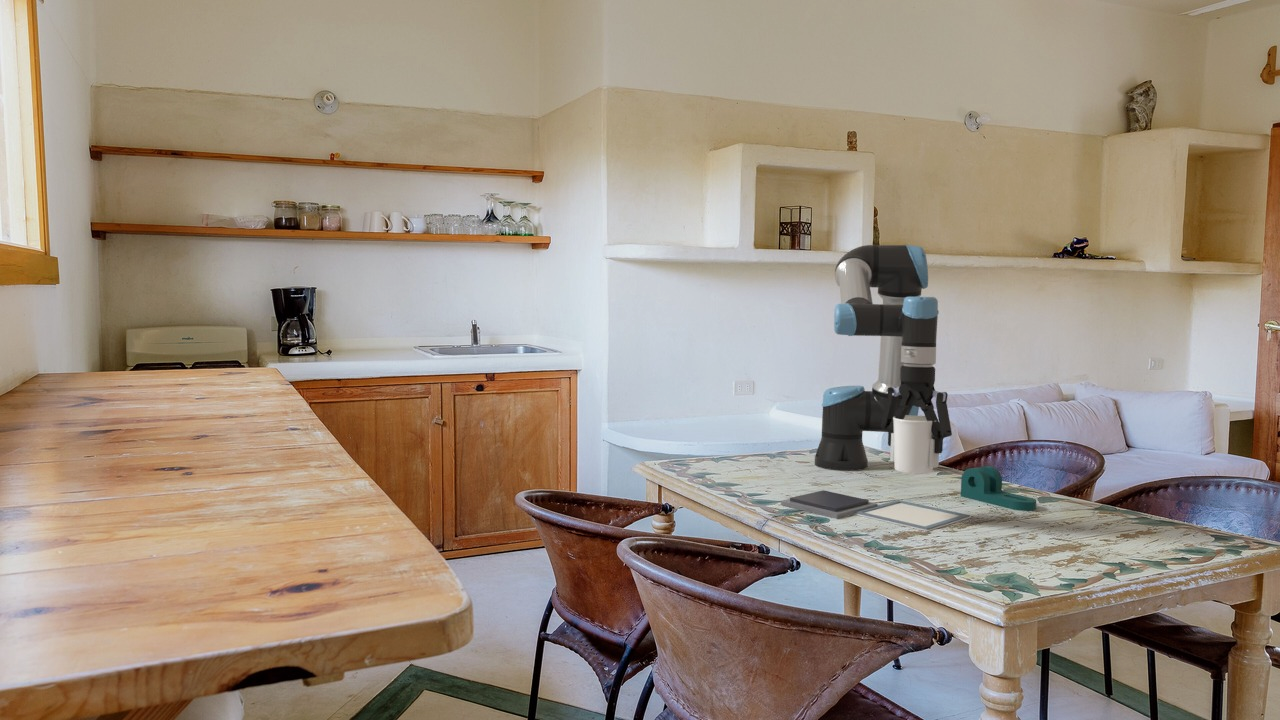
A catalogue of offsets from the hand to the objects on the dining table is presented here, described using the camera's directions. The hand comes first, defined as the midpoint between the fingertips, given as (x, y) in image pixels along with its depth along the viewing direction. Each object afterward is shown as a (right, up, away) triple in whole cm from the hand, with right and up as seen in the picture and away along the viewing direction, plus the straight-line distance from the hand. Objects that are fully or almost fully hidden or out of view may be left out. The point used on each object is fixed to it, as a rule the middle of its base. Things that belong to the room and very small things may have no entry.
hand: (913, 463), depth 201 cm
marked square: (0, -12, +1) cm, 12 cm away
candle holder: (0, -2, 0) cm, 2 cm away
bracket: (+26, -12, +16) cm, 32 cm away
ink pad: (-18, -11, +8) cm, 22 cm away
